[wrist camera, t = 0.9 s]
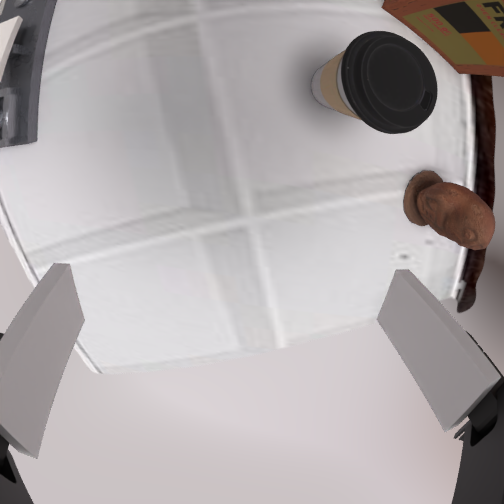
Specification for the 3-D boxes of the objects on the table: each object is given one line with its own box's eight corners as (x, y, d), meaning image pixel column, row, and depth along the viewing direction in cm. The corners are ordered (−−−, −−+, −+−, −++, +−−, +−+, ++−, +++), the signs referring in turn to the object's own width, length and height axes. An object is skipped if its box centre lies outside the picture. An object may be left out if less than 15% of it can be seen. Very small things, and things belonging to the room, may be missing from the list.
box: (381, 7, 25) (487, -25, 7) (395, -28, 21) (488, -63, 4) (459, 73, 30) (559, 86, 12) (468, 37, 26) (561, 40, 8)
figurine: (405, 161, 37) (483, 184, 23) (446, 176, 39) (515, 202, 25) (392, 220, 40) (461, 261, 26) (433, 227, 42) (496, 265, 29)
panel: (14, -11, 14) (-5, -18, 10) (66, -30, 16) (50, -42, 11) (-10, 147, 26) (-33, 155, 21) (37, 141, 28) (14, 148, 23)
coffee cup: (366, 122, 33) (443, 140, 20) (298, 123, 32) (355, 135, 19) (362, 55, 28) (439, 40, 15) (292, 50, 28) (345, 17, 15)
